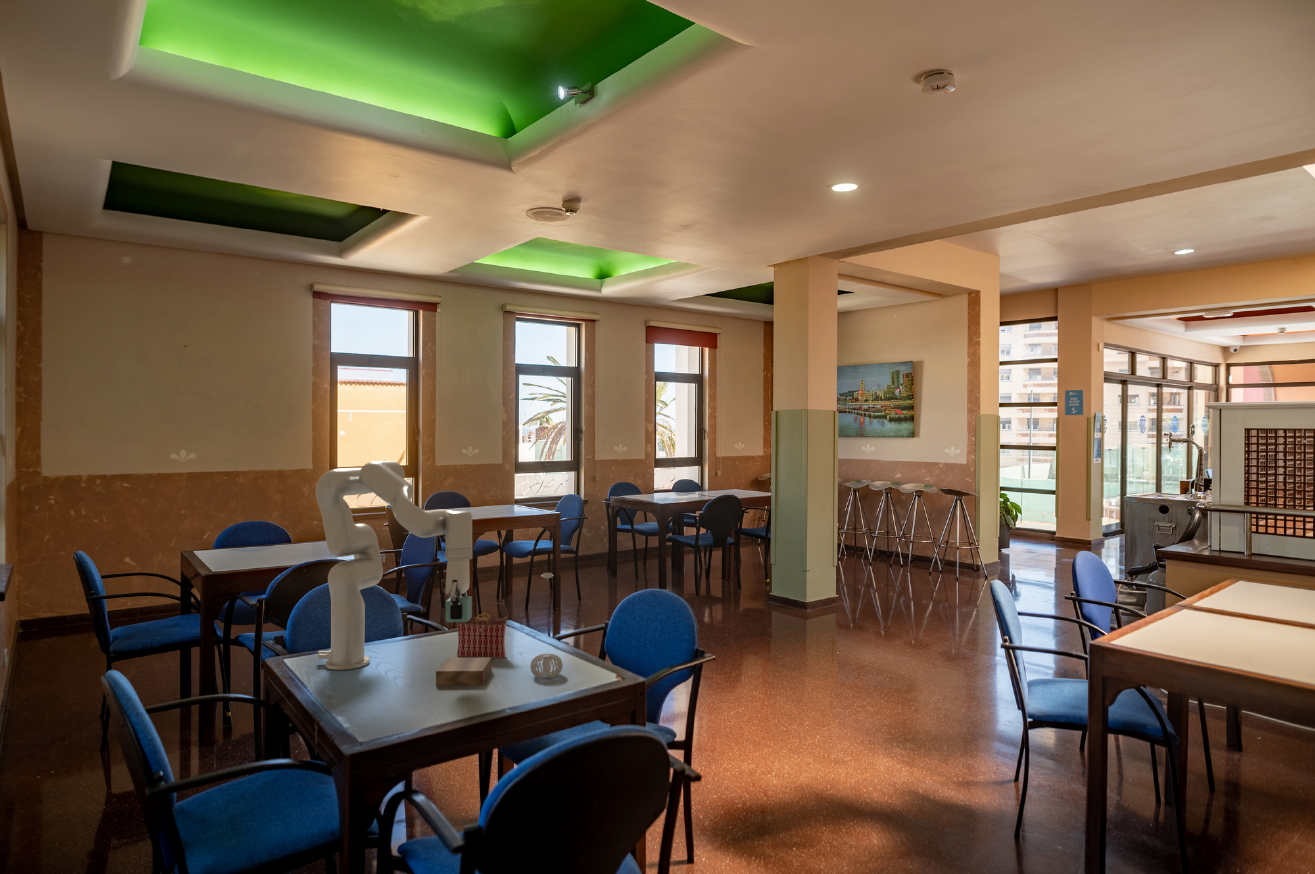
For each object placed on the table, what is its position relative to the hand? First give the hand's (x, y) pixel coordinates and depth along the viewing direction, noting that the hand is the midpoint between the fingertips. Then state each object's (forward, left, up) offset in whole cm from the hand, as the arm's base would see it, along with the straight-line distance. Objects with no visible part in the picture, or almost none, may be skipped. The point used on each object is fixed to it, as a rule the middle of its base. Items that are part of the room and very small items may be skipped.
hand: (459, 615), depth 212 cm
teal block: (0, 0, -1) cm, 1 cm away
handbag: (0, +20, -18) cm, 27 cm away
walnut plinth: (+2, 0, -18) cm, 18 cm away
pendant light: (+25, +1, -18) cm, 31 cm away
